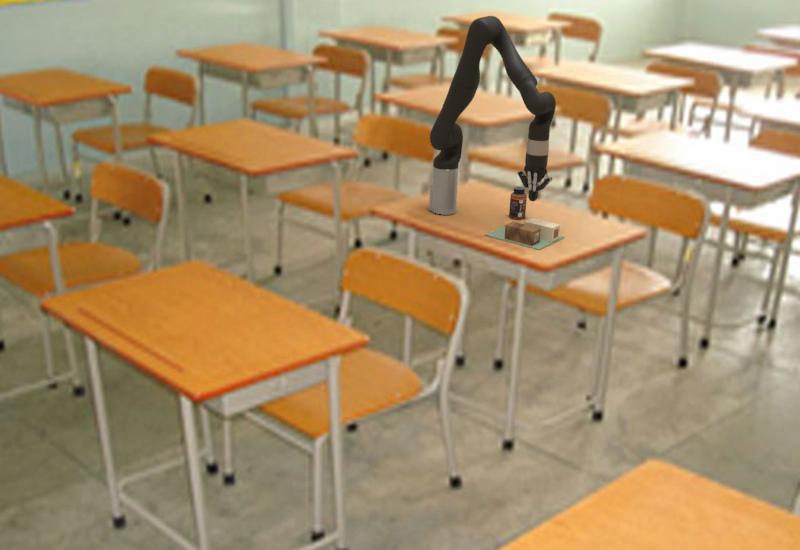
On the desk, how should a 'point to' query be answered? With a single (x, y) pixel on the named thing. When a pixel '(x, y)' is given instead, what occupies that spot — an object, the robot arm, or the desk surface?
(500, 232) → the cutting mat
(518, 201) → the supplement bottle
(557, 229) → the cream block
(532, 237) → the walnut block
